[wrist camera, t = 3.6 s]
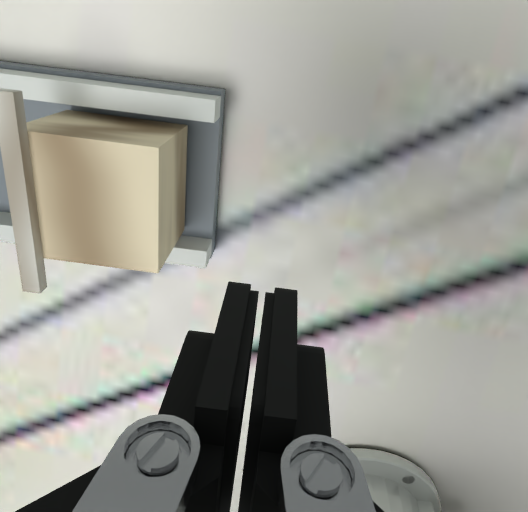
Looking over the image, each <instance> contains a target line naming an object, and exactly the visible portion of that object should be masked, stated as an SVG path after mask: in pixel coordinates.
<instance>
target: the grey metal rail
mask: <svg viewBox="0 0 528 512" xmlns="http://www.w3.org/2000/svg"><path fill="white" fill-rule="evenodd" d="M0 88H5V89H12V90H20V91H22V93H23V101H24V109H25V117H26V123H27V122H30V121H33V120H36V119H39V118H43V117H46V116H49V115H52V114H55V113H58V112H62V111H65V110H73V111H81V112H89V113H97V114H105V115H112V116H120V117H128V118H136V119H144V120H152V121H160V122H168V123H176V124H184V125H188V133H187V164H186V196H185V227H184V231H183V233H182V235H181V236H180V238H179V240H178V241H177V243H176V245H175V246H174V248H173V250H172V251H171V253H170V255H169V256H168V258H167V260H166V261H165V263H168V264H176V265H183V266H191V267H198V268H206V267H207V264H208V262H209V259H210V258H211V257H212V254H213V252H214V250H215V235H216V220H217V205H218V190H219V175H220V159H221V144H222V129H223V114H224V99H225V89H222V88H214V87H206V86H198V85H190V84H182V83H174V82H166V81H158V80H150V79H142V78H134V77H126V76H118V75H110V74H102V73H94V72H86V71H78V70H70V69H62V68H54V67H46V66H38V65H30V64H22V63H14V62H6V61H0ZM0 241H1V242H9V243H15V238H14V232H13V225H12V219H11V212H10V206H9V199H8V193H7V187H6V180H5V174H4V167H3V161H2V154H1V148H0Z"/></svg>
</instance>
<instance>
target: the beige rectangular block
mask: <svg viewBox="0 0 528 512" xmlns="http://www.w3.org/2000/svg"><path fill="white" fill-rule="evenodd" d="M187 133H188V125H184V124H176V123H168V122H160V121H152V120H144V119H136V118H128V117H120V116H112V115H105V114H97V113H89V112H81V111H73V110H65V111H62V112H58V113H55V114H52V115H49V116H46V117H43V118H39V119H36V120H33V121H30V122H27V123H26V117H25V109H24V101H23V93H22V91H20V90H12V89H5V88H0V148H1V154H2V161H3V167H4V174H5V180H6V187H7V193H8V199H9V206H10V212H11V219H12V225H13V232H14V238H15V244H16V251H17V257H18V264H19V270H20V276H21V283H22V289H23V291H25V292H32V293H41V292H42V291H43V290H44V289H45V288H46V287H47V283H46V275H45V267H44V259H43V258H47V259H54V260H62V261H69V262H77V263H84V264H92V265H99V266H107V267H115V268H122V269H130V270H137V271H145V272H152V273H159V271H160V270H161V268H162V266H163V265H164V263H165V261H166V260H167V258H168V256H169V255H170V253H171V251H172V250H173V248H174V246H175V245H176V243H177V241H178V240H179V238H180V236H181V235H182V233H183V231H184V227H185V196H186V164H187Z"/></svg>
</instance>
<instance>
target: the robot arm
mask: <svg viewBox="0 0 528 512" xmlns="http://www.w3.org/2000/svg"><path fill="white" fill-rule="evenodd" d="M250 289H251V284H244V283H236V282H228V286H227V289H226V293H225V297H224V301H223V304H222V308H221V312H220V315H219V319H218V323H217V327H216V330H215V334H213V333H206V332H198V331H190V330H189V331H188V333H187V335H186V338H185V341H184V343H183V346H182V349H181V352H180V355H179V357H178V360H177V363H176V366H175V369H174V371H173V374H172V377H171V380H170V383H169V385H168V388H167V391H166V394H165V396H164V399H163V402H162V405H161V408H160V410H159V413H158V415H152V416H148V417H145V418H142V419H140V420H137V421H136V422H134V423H133V424H131V425H130V426H128V427H127V428H126V429H125V431H124V432H123V433H122V434H121V435H120V436H119V438H118V440H117V441H116V443H115V444H114V446H113V447H112V449H111V451H110V452H109V454H108V455H107V457H106V459H105V460H104V462H103V463H102V465H100V466H99V467H97V468H95V469H93V470H91V471H89V472H88V473H86V474H84V475H82V476H80V477H78V478H76V479H75V480H73V481H71V482H69V483H67V484H65V485H63V486H62V487H60V488H58V489H56V490H54V491H52V492H50V493H49V494H47V495H45V496H43V497H41V498H39V499H38V500H36V501H34V502H32V503H30V504H28V505H26V506H25V507H23V508H21V509H19V510H17V511H15V512H230V505H231V498H232V491H233V484H234V476H235V469H236V462H237V455H238V448H239V441H240V434H241V427H242V420H243V412H244V405H245V398H246V391H247V384H248V376H249V368H250V360H251V351H252V343H253V335H254V326H255V318H256V310H257V302H258V293H259V291H252V290H250ZM238 512H442V511H441V502H440V499H439V496H438V492H437V489H436V487H435V485H434V484H433V482H432V480H431V478H430V477H429V476H428V475H427V474H426V473H425V472H424V471H423V470H422V469H421V468H419V467H418V466H416V465H415V464H414V463H412V462H411V461H409V460H406V459H404V458H402V457H400V456H398V455H395V454H391V453H388V452H384V451H381V450H374V449H366V448H348V447H347V446H346V445H344V444H343V443H341V442H340V441H338V440H336V439H333V438H331V427H330V414H329V402H328V389H327V377H326V364H325V353H324V349H323V348H321V347H314V346H306V345H298V344H297V290H291V289H283V288H275V291H274V293H268V292H266V294H265V302H264V310H263V317H262V325H261V333H260V341H259V348H258V356H257V364H256V371H255V379H254V387H253V395H252V403H251V411H250V420H249V428H248V436H247V444H246V452H245V460H244V468H243V476H242V485H241V493H240V501H239V509H238Z"/></svg>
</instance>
